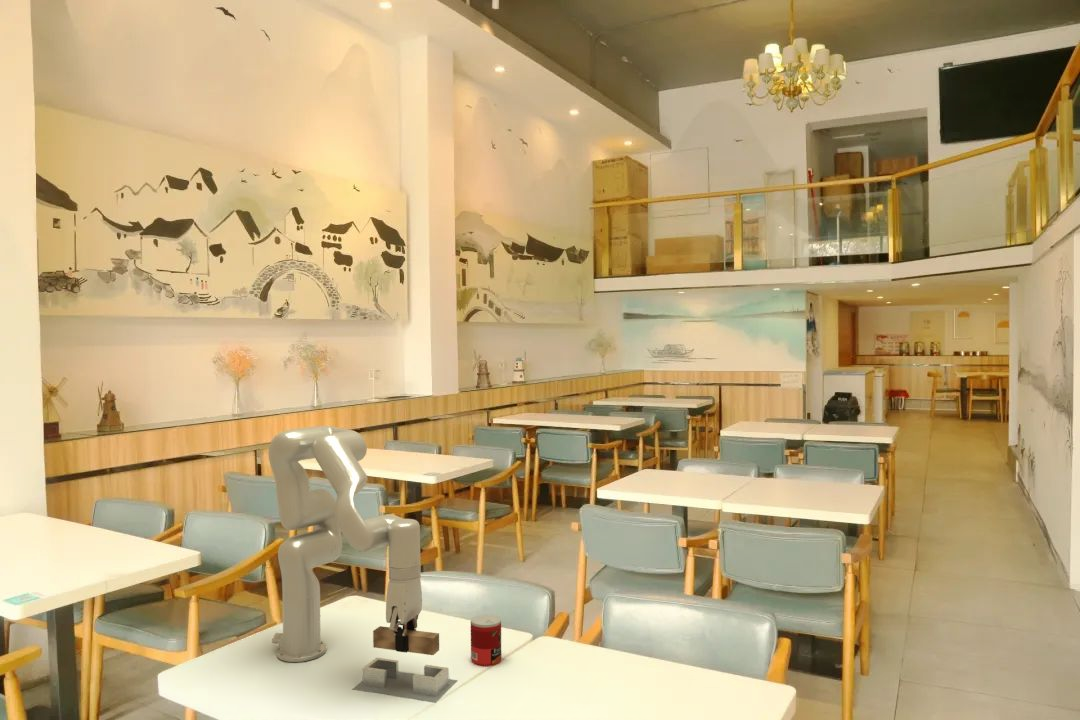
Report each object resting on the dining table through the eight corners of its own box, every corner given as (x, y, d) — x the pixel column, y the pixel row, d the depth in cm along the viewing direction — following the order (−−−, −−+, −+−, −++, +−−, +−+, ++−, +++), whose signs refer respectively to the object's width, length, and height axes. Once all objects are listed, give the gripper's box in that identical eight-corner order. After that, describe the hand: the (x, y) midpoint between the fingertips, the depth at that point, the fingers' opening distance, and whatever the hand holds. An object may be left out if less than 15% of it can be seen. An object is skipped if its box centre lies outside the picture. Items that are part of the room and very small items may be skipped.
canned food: (497, 669, 187) (497, 625, 187) (467, 666, 189) (466, 623, 189) (504, 656, 195) (504, 615, 195) (475, 654, 197) (475, 613, 196)
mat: (351, 690, 176) (351, 689, 176) (378, 669, 187) (378, 668, 187) (435, 704, 169) (435, 702, 169) (457, 681, 180) (457, 680, 180)
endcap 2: (448, 684, 178) (448, 667, 178) (436, 696, 172) (436, 679, 172) (426, 681, 180) (426, 664, 180) (413, 693, 174) (412, 676, 174)
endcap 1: (362, 684, 178) (362, 668, 178) (376, 673, 184) (376, 657, 184) (384, 688, 176) (384, 671, 176) (398, 676, 182) (398, 660, 182)
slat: (373, 647, 179) (373, 630, 179) (380, 642, 182) (380, 626, 182) (433, 655, 174) (432, 638, 174) (439, 650, 177) (439, 633, 177)
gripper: (407, 561, 187) (408, 634, 187) (372, 580, 171) (374, 660, 171) (434, 563, 184) (435, 637, 184) (401, 583, 169) (403, 664, 169)
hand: (406, 647), depth 178 cm, fingers closed on slat, 3 cm apart
